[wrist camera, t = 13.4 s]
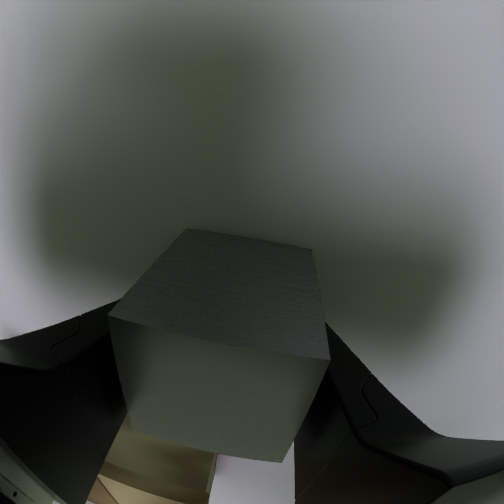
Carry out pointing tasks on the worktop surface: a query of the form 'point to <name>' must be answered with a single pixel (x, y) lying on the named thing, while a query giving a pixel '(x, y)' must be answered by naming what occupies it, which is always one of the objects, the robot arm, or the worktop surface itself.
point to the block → (222, 345)
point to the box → (162, 459)
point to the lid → (139, 489)
